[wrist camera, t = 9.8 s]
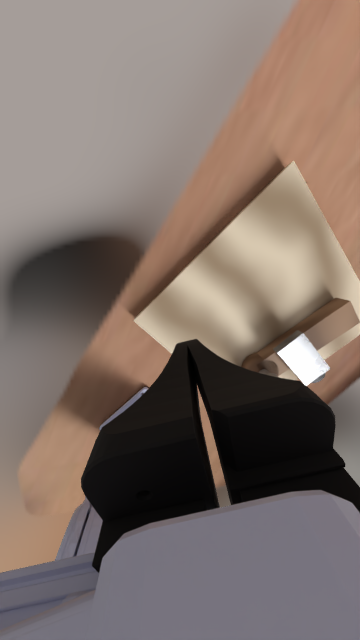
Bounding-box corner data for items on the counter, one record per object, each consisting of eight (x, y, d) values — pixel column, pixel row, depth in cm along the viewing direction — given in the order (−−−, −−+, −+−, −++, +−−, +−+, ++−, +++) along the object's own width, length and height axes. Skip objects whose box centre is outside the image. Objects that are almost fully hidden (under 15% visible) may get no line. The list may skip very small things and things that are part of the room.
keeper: (289, 371, 22) (308, 388, 19) (261, 339, 20) (277, 353, 17) (310, 356, 21) (332, 372, 18) (283, 321, 20) (303, 333, 17)
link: (251, 382, 22) (265, 403, 19) (235, 364, 21) (247, 383, 18) (346, 319, 20) (380, 330, 17) (334, 295, 19) (368, 302, 15)
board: (241, 409, 25) (244, 416, 24) (135, 317, 19) (133, 320, 18) (369, 316, 21) (380, 319, 20) (284, 167, 16) (293, 160, 15)
